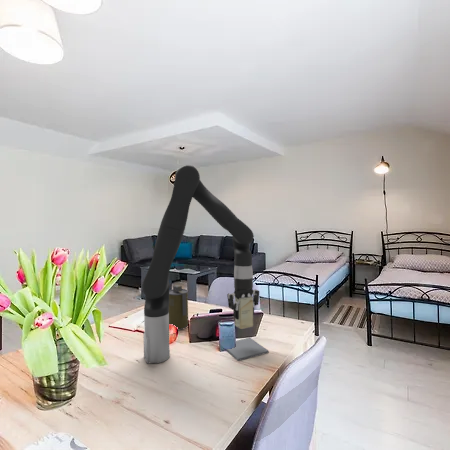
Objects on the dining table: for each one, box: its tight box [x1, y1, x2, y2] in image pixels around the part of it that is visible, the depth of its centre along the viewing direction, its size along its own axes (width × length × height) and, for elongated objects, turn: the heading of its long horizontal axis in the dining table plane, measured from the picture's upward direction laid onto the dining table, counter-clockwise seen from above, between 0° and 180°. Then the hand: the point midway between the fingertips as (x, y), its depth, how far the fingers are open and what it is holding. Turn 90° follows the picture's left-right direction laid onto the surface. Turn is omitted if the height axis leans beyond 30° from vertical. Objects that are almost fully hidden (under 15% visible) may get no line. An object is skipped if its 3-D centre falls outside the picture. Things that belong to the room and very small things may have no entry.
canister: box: [169, 284, 189, 330], centre depth 143 cm, size 11×10×20 cm
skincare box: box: [234, 295, 254, 330], centre depth 117 cm, size 6×4×12 cm
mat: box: [226, 337, 270, 362], centre depth 118 cm, size 14×14×1 cm
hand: (243, 317), depth 117 cm, fingers closed on skincare box, 6 cm apart
